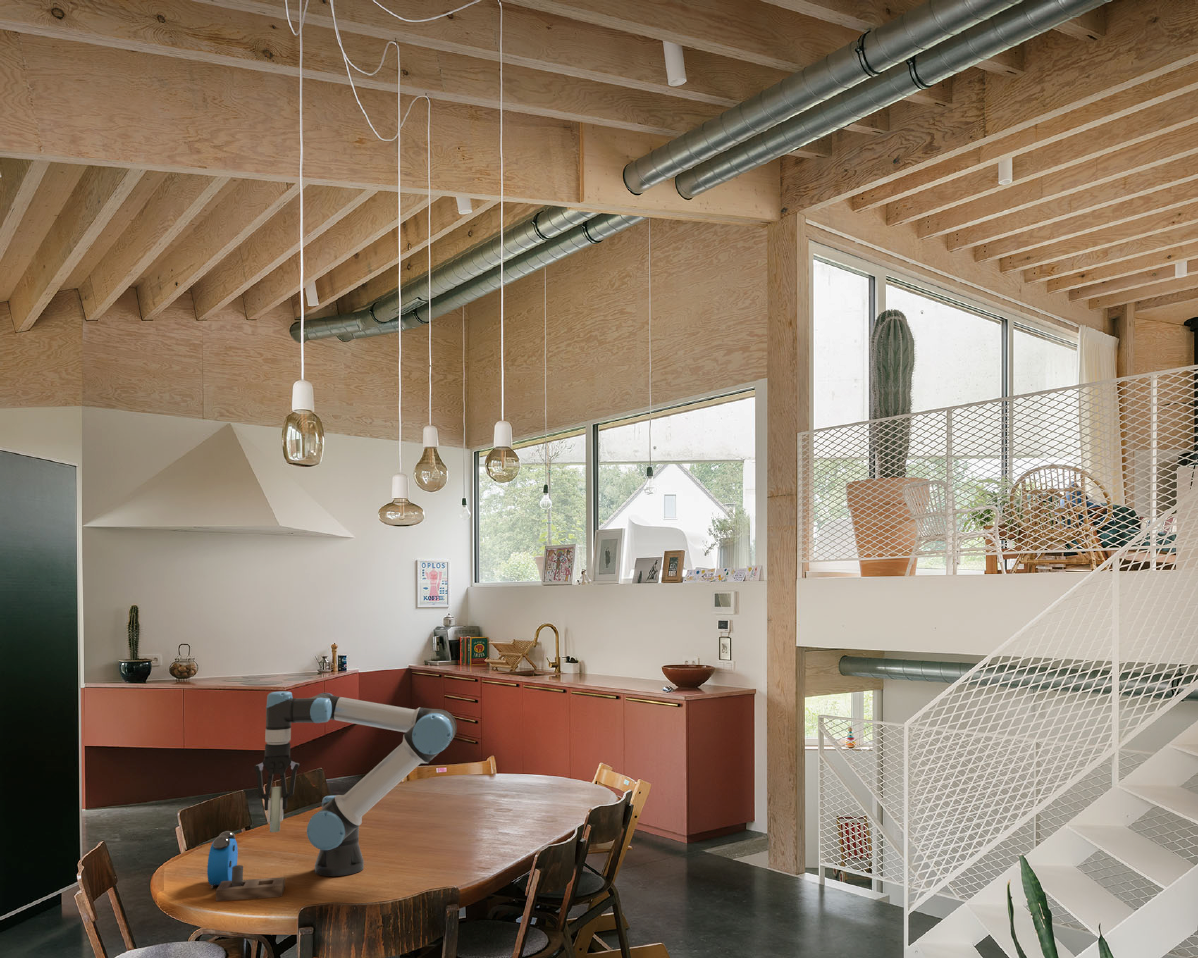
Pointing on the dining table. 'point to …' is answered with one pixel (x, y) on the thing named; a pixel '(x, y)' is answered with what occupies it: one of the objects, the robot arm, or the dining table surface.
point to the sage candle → (275, 809)
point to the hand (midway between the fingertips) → (275, 820)
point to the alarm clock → (222, 858)
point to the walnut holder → (249, 887)
